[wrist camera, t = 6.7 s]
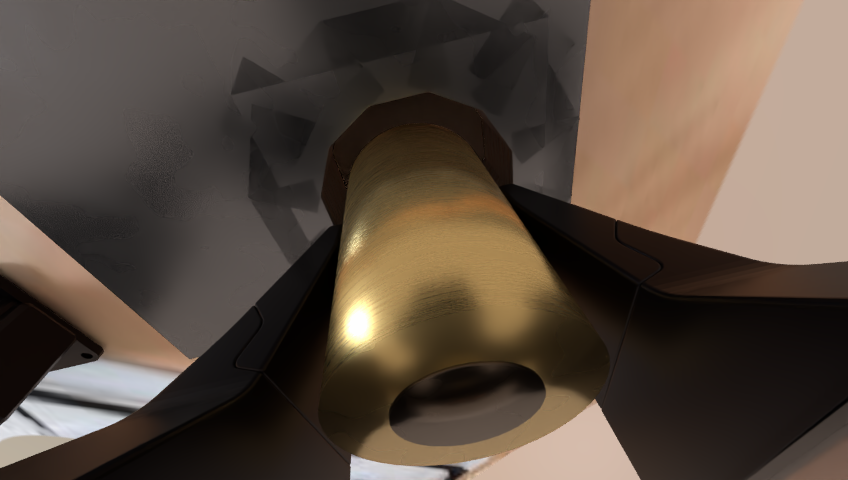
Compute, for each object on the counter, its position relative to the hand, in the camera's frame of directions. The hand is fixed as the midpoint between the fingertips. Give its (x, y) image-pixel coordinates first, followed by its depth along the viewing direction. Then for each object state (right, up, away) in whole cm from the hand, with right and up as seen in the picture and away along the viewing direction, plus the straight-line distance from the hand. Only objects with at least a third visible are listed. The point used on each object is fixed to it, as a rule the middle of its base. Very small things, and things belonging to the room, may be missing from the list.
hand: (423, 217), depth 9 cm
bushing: (0, +1, +1) cm, 2 cm away
